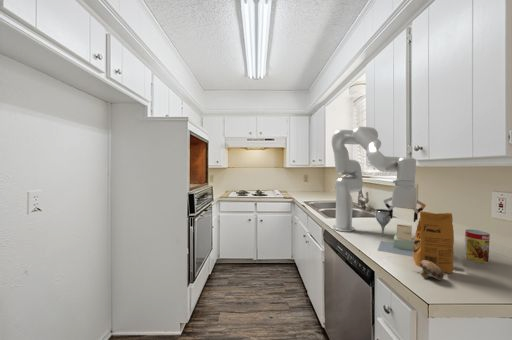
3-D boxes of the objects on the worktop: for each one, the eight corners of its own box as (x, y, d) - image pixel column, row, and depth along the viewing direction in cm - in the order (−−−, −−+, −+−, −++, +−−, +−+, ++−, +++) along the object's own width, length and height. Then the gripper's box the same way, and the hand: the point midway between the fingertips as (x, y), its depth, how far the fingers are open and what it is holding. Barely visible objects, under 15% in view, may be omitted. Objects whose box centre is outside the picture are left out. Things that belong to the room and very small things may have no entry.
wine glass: (386, 241, 135) (387, 212, 135) (371, 237, 142) (372, 209, 141) (393, 238, 140) (394, 210, 139) (379, 235, 146) (380, 208, 146)
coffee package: (411, 260, 108) (413, 208, 108) (447, 265, 104) (449, 211, 103) (415, 269, 99) (417, 212, 98) (455, 275, 94) (457, 215, 94)
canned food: (489, 264, 105) (490, 235, 105) (464, 260, 110) (465, 232, 110) (487, 259, 112) (488, 231, 111) (463, 254, 116) (465, 228, 116)
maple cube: (396, 235, 127) (397, 223, 127) (411, 237, 124) (411, 225, 124) (396, 238, 122) (396, 226, 122) (411, 241, 119) (411, 228, 119)
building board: (380, 242, 132) (380, 240, 132) (415, 248, 125) (415, 246, 125) (377, 252, 118) (377, 250, 118) (416, 259, 110) (416, 257, 110)
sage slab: (394, 243, 129) (394, 235, 129) (413, 245, 125) (413, 237, 125) (393, 247, 122) (393, 239, 122) (413, 250, 118) (413, 242, 118)
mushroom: (412, 269, 92) (424, 255, 92) (413, 270, 98) (424, 257, 98) (436, 286, 87) (448, 272, 87) (435, 287, 93) (446, 273, 93)
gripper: (384, 182, 124) (381, 218, 125) (427, 186, 115) (424, 224, 116) (385, 181, 130) (383, 215, 131) (426, 184, 121) (423, 220, 122)
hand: (402, 219), depth 124 cm, fingers open, 9 cm apart
